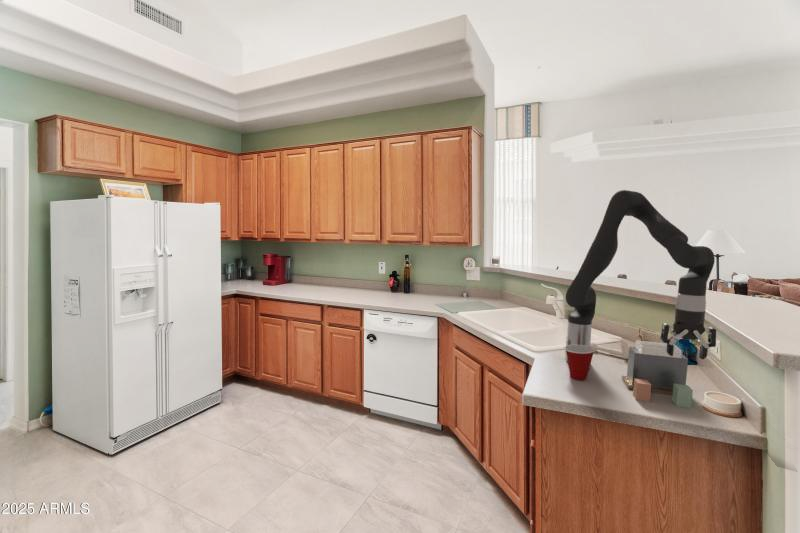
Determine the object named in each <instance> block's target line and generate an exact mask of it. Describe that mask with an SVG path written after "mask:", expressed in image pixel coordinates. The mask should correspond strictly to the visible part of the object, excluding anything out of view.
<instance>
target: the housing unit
mask: <svg viewBox="0 0 800 533" xmlns="http://www.w3.org/2000/svg"><path fill="white" fill-rule="evenodd" d="M673 345H674V350H673V356H670V355H669V354H668V353H667V351H666V350H667V343H665V342H655V341H654V342H653V341H645V340H635V345H634V346H628V347H629V356H628V359H627V370H626V375H621V380H622V382H623V383H624V385H625V386H626V389H628V390H633V388H634V379H642V380H648V381H649V383H650V384H651V393H656V394H662V395H663V394H664V395H669V396H673V386H674V384H681V385H687V375H688V364H689V358H688V357H686V356H685V355H684V354H683V350H681V349H680V348H679V347H678V346H677V345H675V343H674V344H673Z"/></svg>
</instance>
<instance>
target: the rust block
mask: <svg viewBox="0 0 800 533" xmlns="http://www.w3.org/2000/svg"><path fill="white" fill-rule="evenodd" d="M651 393H652V392H651V384H650V383H649V381H648V380H642V379H634V388H633V391H632V396H633V398H634V397H635V398H634V399H635V401H639V400H642V402H646V401H649V402H648V403H650V402H651Z"/></svg>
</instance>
